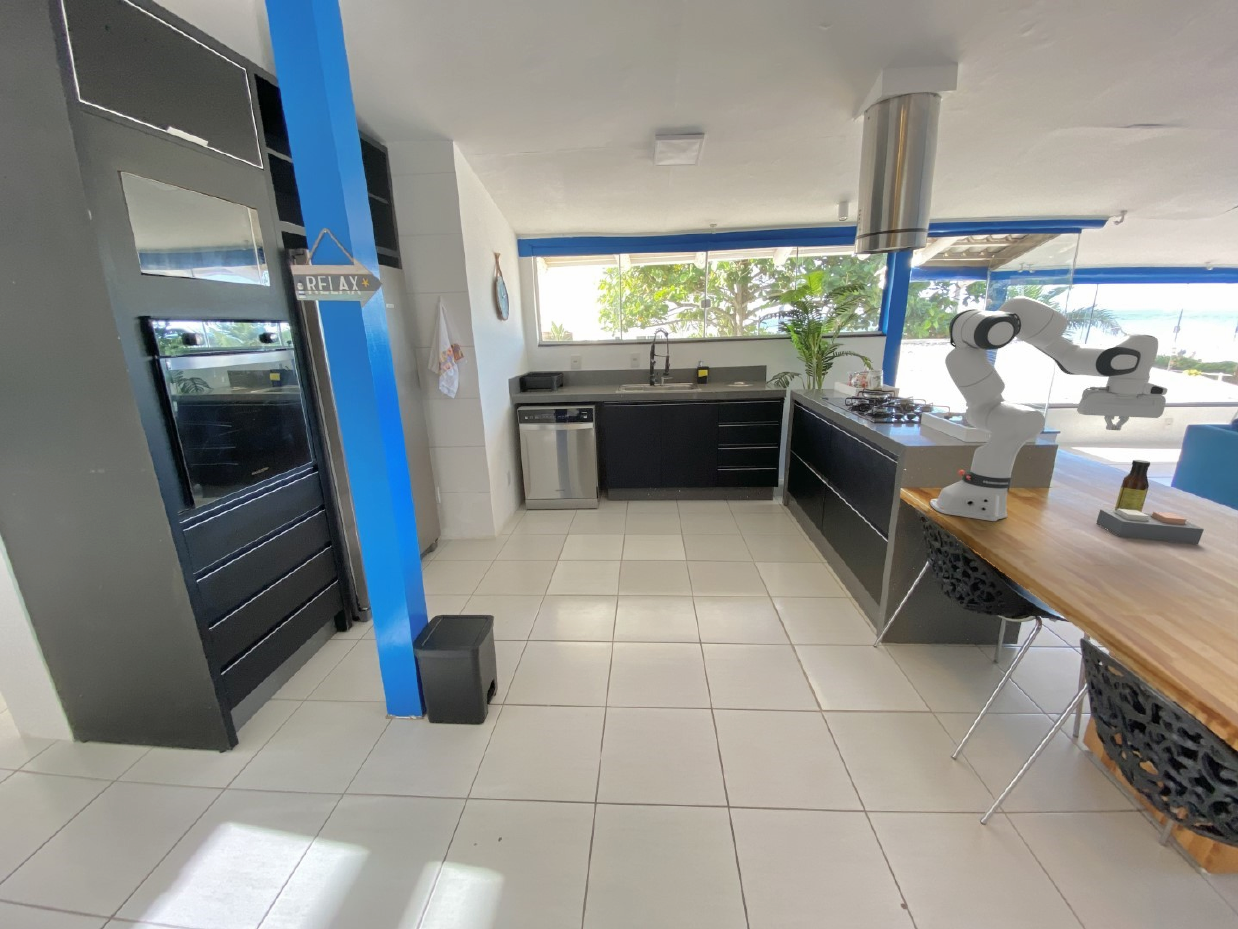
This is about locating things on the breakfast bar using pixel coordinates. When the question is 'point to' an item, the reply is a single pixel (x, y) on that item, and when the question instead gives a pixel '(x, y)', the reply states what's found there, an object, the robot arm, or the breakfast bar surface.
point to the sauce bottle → (1134, 487)
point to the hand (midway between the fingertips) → (1112, 429)
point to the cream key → (1132, 515)
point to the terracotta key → (1168, 518)
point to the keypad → (1149, 528)
